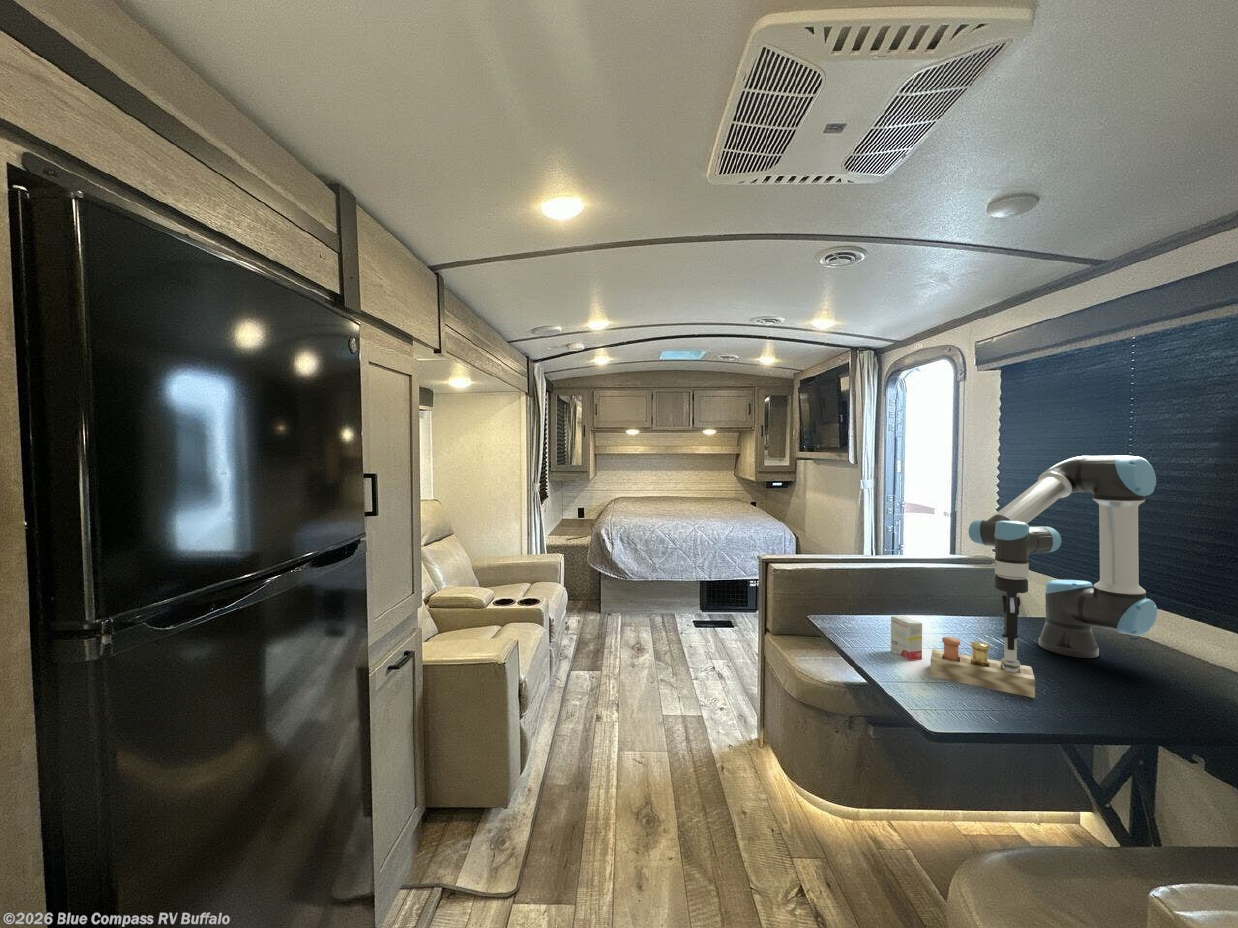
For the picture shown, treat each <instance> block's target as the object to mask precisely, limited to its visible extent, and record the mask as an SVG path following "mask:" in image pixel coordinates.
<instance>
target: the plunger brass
mask: <svg viewBox="0 0 1238 928" xmlns="http://www.w3.org/2000/svg"><path fill="white" fill-rule="evenodd" d="M970 647H971V649H972V656H973V658H972V664H973V665H978V666H984V667H988V659H989V651H990V645H989V644H988V643H986V642H983V641H982V642H981V641H971V642H970Z"/></svg>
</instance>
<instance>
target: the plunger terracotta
mask: <svg viewBox="0 0 1238 928" xmlns="http://www.w3.org/2000/svg"><path fill="white" fill-rule="evenodd" d="M941 642H942V643H943V651H944V659H946V660H951V661H957V662H958V654H959V646H961V640H960V639H959V638H957V637H951V636H944V637H942V641H941Z"/></svg>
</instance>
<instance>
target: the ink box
mask: <svg viewBox="0 0 1238 928" xmlns="http://www.w3.org/2000/svg"><path fill="white" fill-rule="evenodd" d="M890 652H892V653H894V654H896V655H898V656H900V657H903V658H905V659H907V660H909V661H914V660H915V661H916V660H922V659H923V623H922V622H920V621H917V620H915V619H914V618H913V619H912V618H910V617H908V616H905V615H892V616H890Z"/></svg>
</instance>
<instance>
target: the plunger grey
mask: <svg viewBox="0 0 1238 928" xmlns="http://www.w3.org/2000/svg"><path fill="white" fill-rule="evenodd" d="M1000 661H1001V664H1003V667H1002V670H1005V671H1011V672H1016V673H1019V667H1020V665H1021V661H1019V660H1018V659H1017V662H1014V661H1009V660H1004V657H1001V658H1000Z"/></svg>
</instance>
